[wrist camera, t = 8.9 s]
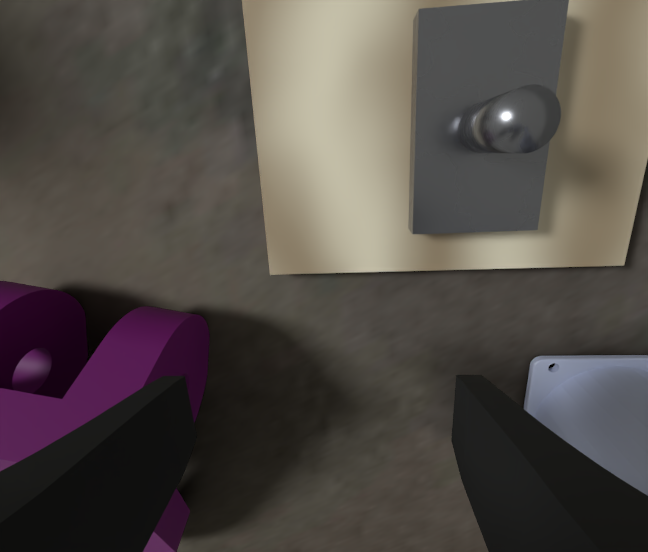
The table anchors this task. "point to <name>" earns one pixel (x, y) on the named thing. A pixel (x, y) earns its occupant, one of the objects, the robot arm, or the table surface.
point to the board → (394, 140)
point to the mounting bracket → (88, 374)
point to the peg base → (483, 114)
